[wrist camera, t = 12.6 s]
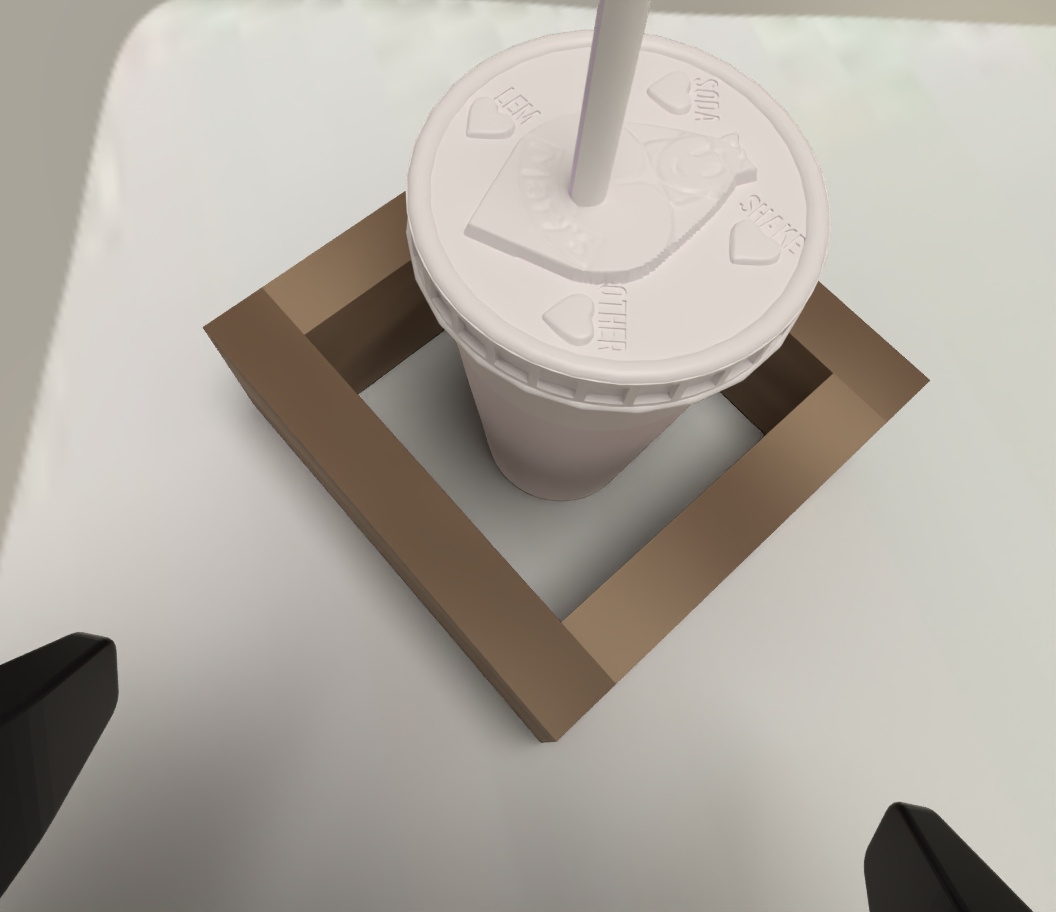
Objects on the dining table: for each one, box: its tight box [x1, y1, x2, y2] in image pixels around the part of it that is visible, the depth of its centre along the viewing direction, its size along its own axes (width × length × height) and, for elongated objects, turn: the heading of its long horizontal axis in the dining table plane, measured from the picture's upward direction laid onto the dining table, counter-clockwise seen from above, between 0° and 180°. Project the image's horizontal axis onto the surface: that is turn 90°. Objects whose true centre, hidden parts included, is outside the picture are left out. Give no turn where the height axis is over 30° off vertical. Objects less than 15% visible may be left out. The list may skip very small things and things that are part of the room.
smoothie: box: [406, 0, 831, 501], centre depth 14 cm, size 6×6×14 cm
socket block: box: [203, 191, 930, 743], centre depth 19 cm, size 11×11×4 cm
